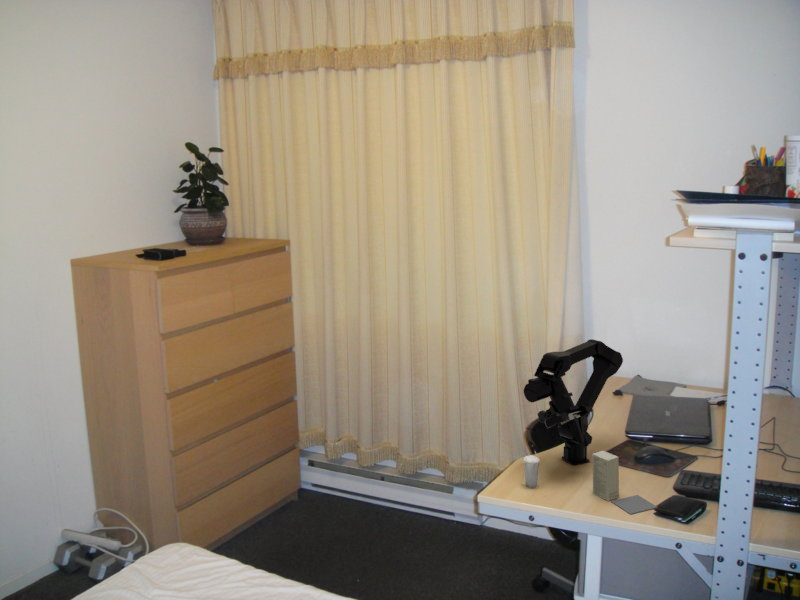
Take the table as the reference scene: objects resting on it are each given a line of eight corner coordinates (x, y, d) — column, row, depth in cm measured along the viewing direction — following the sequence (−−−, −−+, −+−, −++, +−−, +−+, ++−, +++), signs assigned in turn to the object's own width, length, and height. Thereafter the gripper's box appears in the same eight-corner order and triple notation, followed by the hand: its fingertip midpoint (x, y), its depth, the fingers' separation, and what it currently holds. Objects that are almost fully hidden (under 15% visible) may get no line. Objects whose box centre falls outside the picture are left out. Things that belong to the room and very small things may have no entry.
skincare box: (619, 497, 196) (620, 457, 194) (607, 501, 194) (608, 460, 192) (602, 489, 201) (603, 449, 199) (591, 493, 199) (591, 453, 197)
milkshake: (542, 489, 202) (542, 457, 201) (523, 488, 203) (523, 456, 202) (542, 483, 207) (542, 451, 205) (523, 482, 208) (523, 450, 206)
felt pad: (637, 495, 197) (637, 494, 197) (657, 507, 189) (657, 506, 189) (611, 502, 194) (611, 501, 193) (630, 514, 186) (630, 513, 186)
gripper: (554, 399, 223) (576, 445, 218) (521, 408, 209) (544, 458, 205) (582, 385, 216) (605, 433, 211) (549, 394, 202) (573, 445, 198)
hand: (581, 442), depth 206 cm, fingers closed
